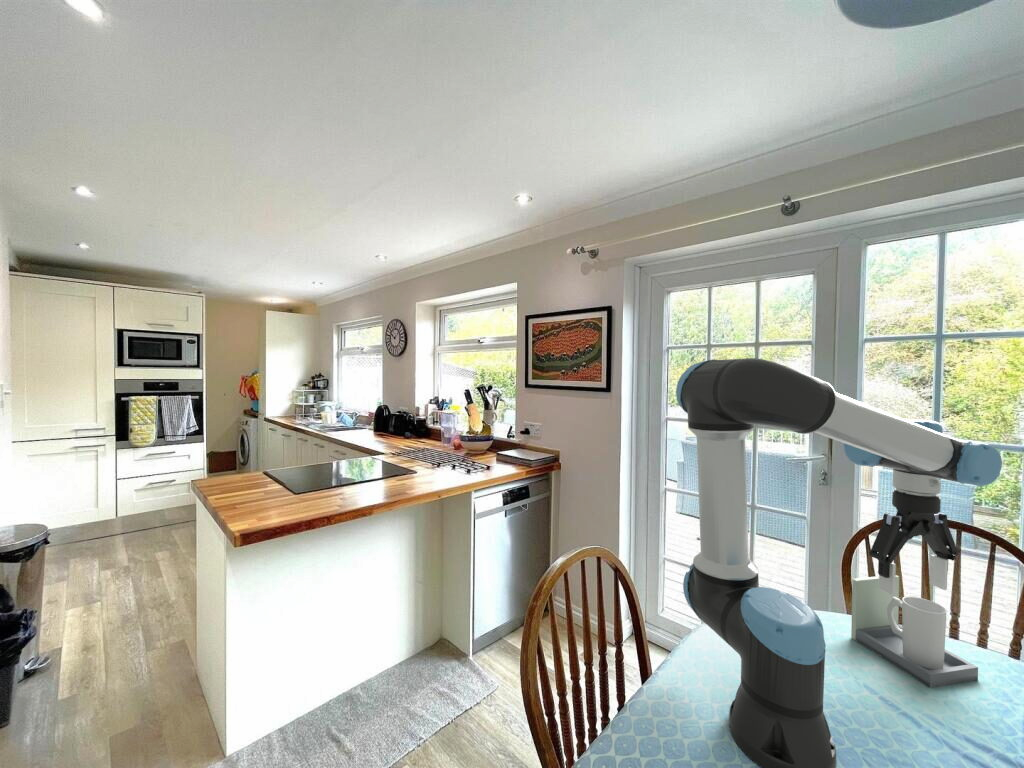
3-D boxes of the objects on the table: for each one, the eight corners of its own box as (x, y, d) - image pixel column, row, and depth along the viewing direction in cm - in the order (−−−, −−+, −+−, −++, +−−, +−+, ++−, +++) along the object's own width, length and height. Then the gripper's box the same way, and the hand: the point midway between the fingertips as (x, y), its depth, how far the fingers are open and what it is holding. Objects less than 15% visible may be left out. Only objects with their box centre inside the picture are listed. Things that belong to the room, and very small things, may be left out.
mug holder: (929, 687, 83) (931, 617, 83) (851, 637, 99) (852, 578, 99) (977, 679, 85) (979, 611, 85) (893, 632, 101) (894, 574, 101)
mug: (953, 667, 88) (954, 610, 87) (931, 674, 86) (932, 615, 86) (897, 638, 97) (898, 587, 97) (876, 643, 95) (877, 591, 95)
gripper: (886, 498, 85) (883, 603, 85) (983, 494, 89) (980, 593, 90) (850, 488, 92) (847, 584, 93) (942, 485, 97) (938, 576, 97)
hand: (912, 589), depth 91 cm, fingers open, 13 cm apart
